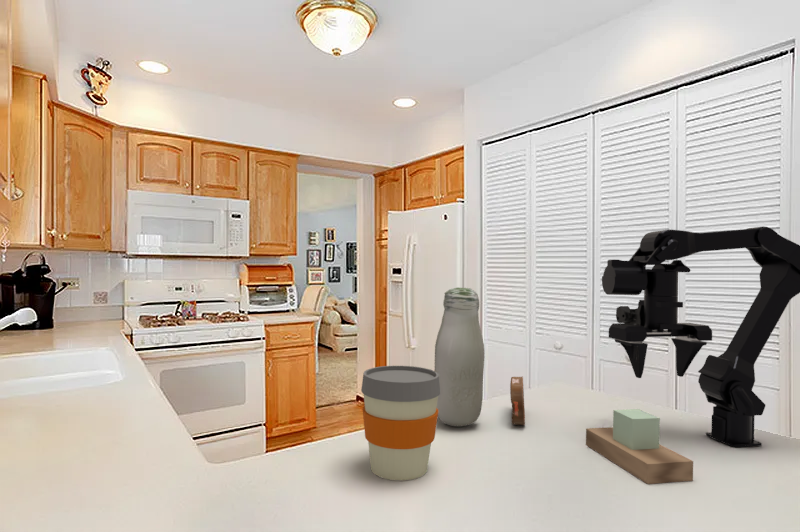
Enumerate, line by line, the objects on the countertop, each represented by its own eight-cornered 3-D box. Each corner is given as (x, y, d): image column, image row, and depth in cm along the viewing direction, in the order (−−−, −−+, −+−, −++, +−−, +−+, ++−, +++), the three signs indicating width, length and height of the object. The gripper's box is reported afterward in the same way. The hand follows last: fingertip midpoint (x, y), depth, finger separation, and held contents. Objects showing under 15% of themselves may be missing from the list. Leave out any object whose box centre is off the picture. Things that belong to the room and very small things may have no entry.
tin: (525, 431, 94) (525, 388, 94) (508, 429, 95) (509, 387, 95) (524, 409, 109) (525, 373, 109) (510, 408, 110) (511, 372, 110)
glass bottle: (442, 434, 91) (446, 288, 91) (427, 417, 101) (430, 286, 101) (490, 431, 93) (493, 289, 93) (470, 415, 103) (473, 286, 103)
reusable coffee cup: (425, 492, 67) (427, 386, 67) (345, 477, 72) (348, 377, 72) (447, 459, 79) (449, 369, 79) (377, 448, 83) (380, 362, 84)
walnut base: (624, 442, 89) (624, 426, 89) (692, 480, 73) (693, 461, 73) (585, 444, 87) (586, 428, 87) (647, 484, 72) (647, 464, 72)
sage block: (638, 437, 83) (638, 408, 83) (659, 448, 78) (659, 417, 78) (612, 438, 82) (613, 410, 82) (632, 449, 77) (632, 419, 77)
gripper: (670, 293, 101) (669, 367, 101) (592, 293, 97) (590, 369, 97) (715, 297, 90) (713, 379, 90) (628, 296, 86) (627, 382, 86)
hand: (659, 376), depth 91 cm, fingers open, 9 cm apart
